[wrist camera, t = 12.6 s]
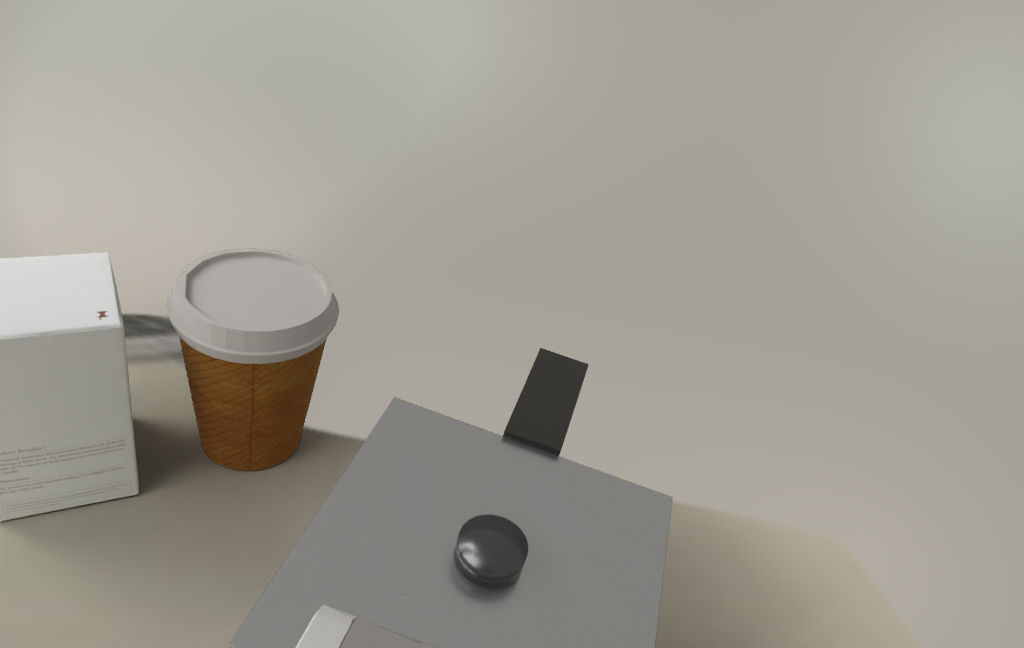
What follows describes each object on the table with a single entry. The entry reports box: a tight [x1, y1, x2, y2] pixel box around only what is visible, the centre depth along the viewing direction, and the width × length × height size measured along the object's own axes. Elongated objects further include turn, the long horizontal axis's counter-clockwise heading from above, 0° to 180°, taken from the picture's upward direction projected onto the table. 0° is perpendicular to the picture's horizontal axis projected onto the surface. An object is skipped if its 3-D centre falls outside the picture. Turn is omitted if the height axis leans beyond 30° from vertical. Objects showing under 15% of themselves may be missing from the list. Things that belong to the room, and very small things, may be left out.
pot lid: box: [229, 348, 673, 648], centre depth 35 cm, size 15×23×2 cm, turn 164°
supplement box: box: [0, 252, 139, 521], centre depth 41 cm, size 7×7×13 cm
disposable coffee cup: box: [167, 248, 339, 471], centre depth 47 cm, size 10×10×12 cm
